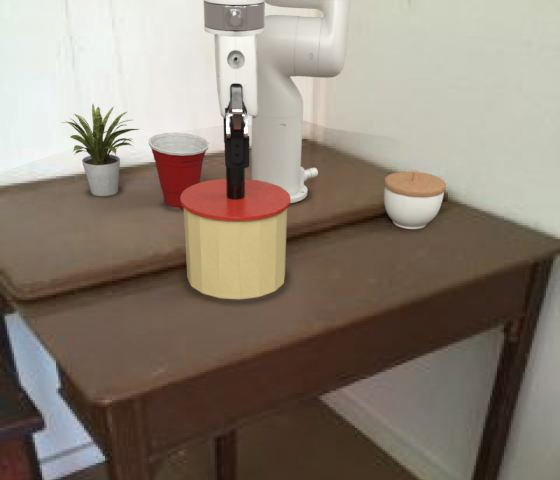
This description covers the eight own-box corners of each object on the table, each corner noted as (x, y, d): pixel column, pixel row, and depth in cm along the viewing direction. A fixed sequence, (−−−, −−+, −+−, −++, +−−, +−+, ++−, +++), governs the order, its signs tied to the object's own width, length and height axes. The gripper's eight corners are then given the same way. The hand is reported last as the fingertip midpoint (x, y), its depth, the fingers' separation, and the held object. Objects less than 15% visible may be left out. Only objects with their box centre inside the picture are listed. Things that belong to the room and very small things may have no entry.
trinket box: (445, 218, 130) (453, 168, 125) (430, 238, 122) (438, 186, 117) (390, 208, 134) (395, 159, 128) (372, 227, 125) (377, 175, 120)
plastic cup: (186, 220, 126) (183, 153, 119) (140, 207, 131) (135, 141, 124) (222, 202, 134) (221, 138, 127) (177, 190, 138) (174, 128, 132)
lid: (244, 179, 109) (244, 139, 106) (312, 208, 100) (315, 165, 96) (159, 200, 101) (156, 157, 97) (224, 234, 91) (224, 188, 88)
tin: (244, 251, 115) (244, 176, 108) (304, 283, 106) (308, 204, 99) (169, 275, 107) (164, 196, 100) (227, 312, 98) (225, 228, 91)
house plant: (105, 212, 128) (94, 120, 119) (49, 197, 133) (34, 108, 124) (154, 190, 138) (147, 104, 129) (100, 177, 144) (90, 93, 135)
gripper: (269, 30, 80) (267, 176, 90) (260, 7, 94) (259, 135, 104) (203, 30, 80) (208, 177, 89) (204, 6, 94) (209, 135, 103)
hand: (236, 154), depth 97 cm, fingers open, 9 cm apart
